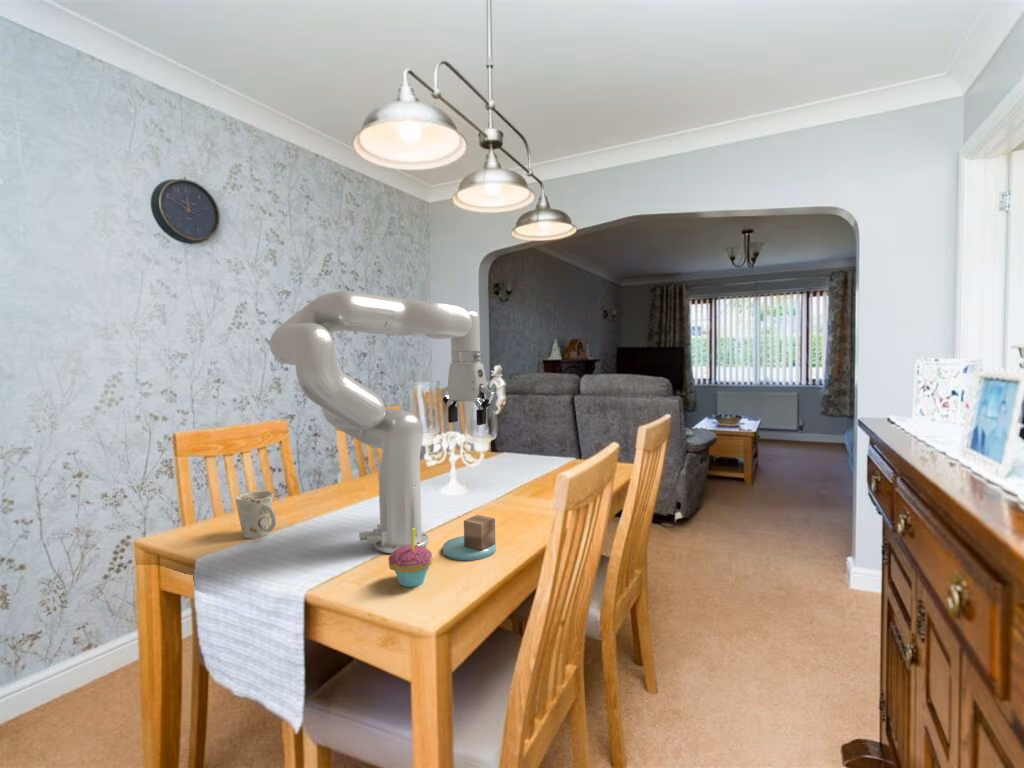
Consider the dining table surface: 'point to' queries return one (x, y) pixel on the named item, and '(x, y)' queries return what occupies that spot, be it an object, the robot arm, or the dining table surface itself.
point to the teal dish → (465, 550)
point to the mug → (256, 513)
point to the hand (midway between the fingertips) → (467, 423)
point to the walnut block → (479, 532)
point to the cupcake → (410, 563)
